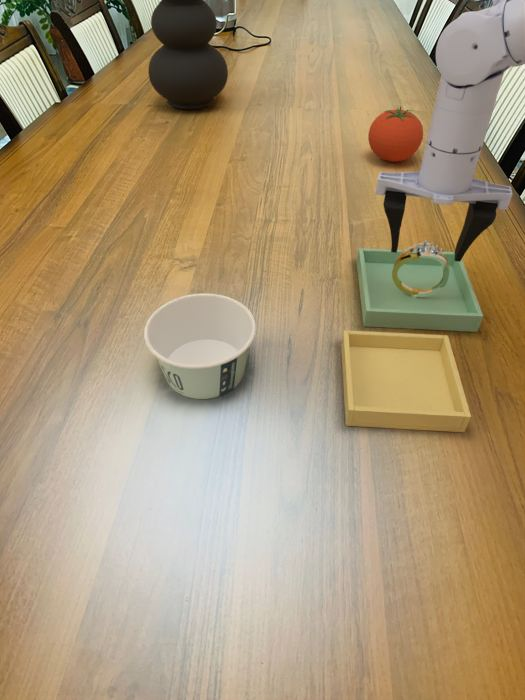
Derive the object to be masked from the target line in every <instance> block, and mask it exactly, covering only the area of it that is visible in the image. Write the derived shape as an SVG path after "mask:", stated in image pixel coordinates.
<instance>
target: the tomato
mask: <svg viewBox="0 0 525 700" xmlns="http://www.w3.org/2000/svg"><path fill="white" fill-rule="evenodd" d="M412 112H413V110H412V109H406V110H403V109H402V106H399V108H396V109H388V110H384V111H383V112H382V113H380V114H379V115H378V116H376V117H375V119H374V120H373V121H372V123H371V125H370V126H369V130H368V137H367V138H368V144H369V147H370V149H371V151H372V152H373V153H374V154H375V156H377V157H378V158H380V159H381V160H383V161H387V162H392V163H393V162H394V163H395V162H402V161H404V160H407V159H408V158H410V157H412V156H413V155H414V154H415V153H416V152H417V151H418V150H419V148H420V146H421V144H422V142H423V139H424V128H423V125H422V122H421V120H420V119H419V118H418V117H417V116H416V114H414V113H412Z"/></svg>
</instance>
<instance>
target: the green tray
mask: <svg viewBox="0 0 525 700" xmlns="http://www.w3.org/2000/svg"><path fill="white" fill-rule="evenodd" d="M404 250H405V249H397V253H394V252H391V248H390V249H389V248H388V249H387V248H368V247H367V248H366V247H364V248H363V247H361V248H360V247H359V248H358V251H357V259H356V271H357V279H358V288H359V289H358V290H359V297H360V299H359V300H360V308H361V315H362V325H363V327H367V328H386V329H387V328H388V329H407V330H408V329H409V330H430V331H451V332H469V333H470V332H472V333H477V332H479V329H480V327H481V323H482V321H483V319H484V314H483V311H482V309H481V306H480V303H479V301H478V298H477V295H476V293H475V290H474V288H473V287H474V286H473V284H472V282H471V280H470V276H469V274H468V271H467V269H466V266H465V263H464V261H463V259H462V260H461V261H460V262H459V261H455V251H441V253H442V254H443V255H444V256H445V257H446V259H447V260H448V263H449V277H448V281H447V283H446V285H445V286H444V287H443V288H442V289H441V290H440V291H439V292H437V293H436V294H434V295H431V296H427V297H417V298H412V297H411V295H408V294H406V293H404V292H402V291H401V290H400V289H398V288H397V286H396V285H395V283H394V281H393V278H392V271H393V267H394V264H395V261H396V260H397V258H398V256H399V255H400V254H401V253H402V252H403V251H404ZM416 253H417V252H416V251H413V252H411V253H409V254H408V255H411V254H416ZM398 276H399V279H400V280H401V282H402V283H403V284H404V285H406V286H407V287H409V288H412V289H413V288H418V289H419V290H427V289H430V288H432V287H434V286H436V285H437V284H438V283H439V282H440V280H441V279H442V276H443V267H442V265H441V263H440V262H439V261H437V260H435V259H431V258H420V257H419V259H417V260H413V261H410V262H407V263H405V264H404V265H402V266H401V267H400V268H399V270H398Z"/></svg>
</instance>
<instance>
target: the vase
mask: <svg viewBox="0 0 525 700" xmlns="http://www.w3.org/2000/svg"><path fill="white" fill-rule="evenodd" d="M150 18H151V19H150V26H151V30H152V32H153V34H154V36H155V37H156V39H157V40H158V41H159V42H160V44H162V45H161V47H159V48H158V49H157V50H155V52H154V53H153V54H152V56H151V58H150V60H149V63H148V78H149V81H150V84H151V86H152V87H153V89H154V91H155V92H156V93H157V95H160V96H161V97H162V98H164V99H165V100H167V101H166V102H167V104H168V105H169V106H170V107H173V108H175V109H181V110H199V109H203V108H207V107H209V106H211V105H212V104H214V102H215V98H216V97H217V96H218V95H220V94H221V93H222V91H223V90H224V89H225V87H226V84H227V81H228V77H229V76H228V75H229V71H228V69H229V68H228V64H227V62H226V59H225V57H224V56H223V54H222V53H221V52H220V51H219V50H218V49H217V48H216V47H214V46H212V45H211V44H210V42H211V41H212V39H213V38H214V36H215V34H216V31H217V28H218V27H217V26H218V23H217V16H216V14H215V12H214V11H213V9H212V8H211V6H210V5H209V4H208V3H207V2H206V1H205V0H160V1H159V2H158V4H157V6H156V7H155V8H154V10H153V11H152V14H151V17H150Z"/></svg>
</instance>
